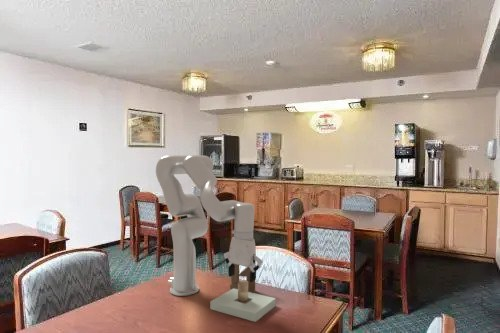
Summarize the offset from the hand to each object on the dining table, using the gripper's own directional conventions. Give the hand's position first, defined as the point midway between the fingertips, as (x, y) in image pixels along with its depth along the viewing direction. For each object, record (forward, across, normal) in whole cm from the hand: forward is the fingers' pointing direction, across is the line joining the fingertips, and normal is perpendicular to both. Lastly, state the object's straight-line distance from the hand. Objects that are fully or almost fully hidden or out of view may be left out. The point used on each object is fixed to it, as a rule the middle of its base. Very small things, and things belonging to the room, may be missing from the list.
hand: (241, 278), depth 135 cm
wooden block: (+12, -8, +14) cm, 20 cm away
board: (+11, +1, 0) cm, 11 cm away
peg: (+11, +1, 0) cm, 11 cm away
